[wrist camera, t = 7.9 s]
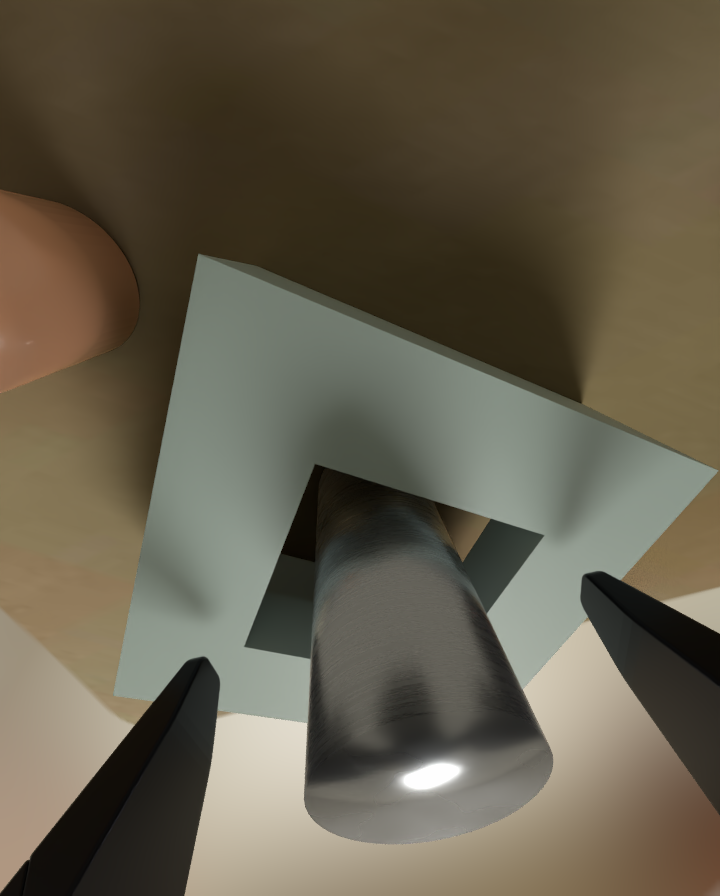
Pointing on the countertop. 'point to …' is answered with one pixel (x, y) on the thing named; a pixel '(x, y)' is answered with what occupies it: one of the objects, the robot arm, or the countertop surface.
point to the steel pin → (407, 679)
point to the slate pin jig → (372, 458)
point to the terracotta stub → (58, 289)
